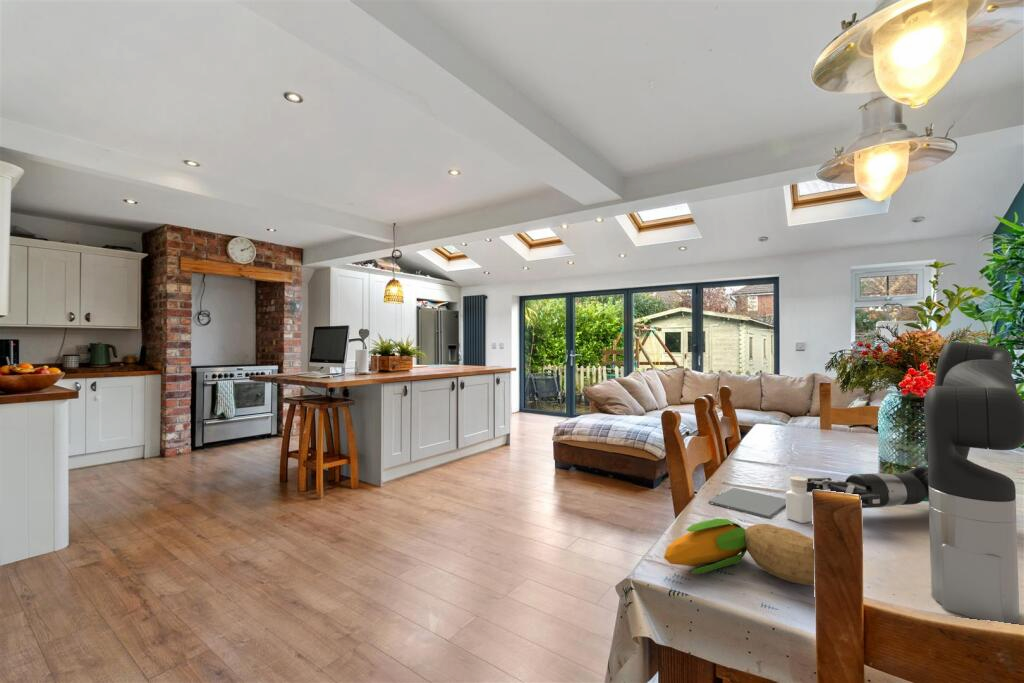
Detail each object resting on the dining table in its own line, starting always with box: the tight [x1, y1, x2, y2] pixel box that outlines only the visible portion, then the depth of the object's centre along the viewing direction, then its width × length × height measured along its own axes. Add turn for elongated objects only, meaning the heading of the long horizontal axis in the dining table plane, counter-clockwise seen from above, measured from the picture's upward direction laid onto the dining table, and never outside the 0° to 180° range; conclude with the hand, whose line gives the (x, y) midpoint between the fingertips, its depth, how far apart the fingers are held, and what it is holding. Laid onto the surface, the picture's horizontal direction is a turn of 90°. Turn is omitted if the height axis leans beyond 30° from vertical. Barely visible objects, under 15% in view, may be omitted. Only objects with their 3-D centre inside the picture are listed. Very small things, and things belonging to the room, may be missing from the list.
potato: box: [745, 523, 815, 586], centre depth 76 cm, size 10×14×8 cm
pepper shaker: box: [785, 476, 813, 524], centre depth 101 cm, size 4×4×10 cm
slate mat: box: [708, 487, 786, 519], centre depth 112 cm, size 16×14×1 cm
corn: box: [663, 518, 748, 575], centre depth 80 cm, size 7×8×20 cm
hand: (813, 493), depth 101 cm, fingers open, 8 cm apart
